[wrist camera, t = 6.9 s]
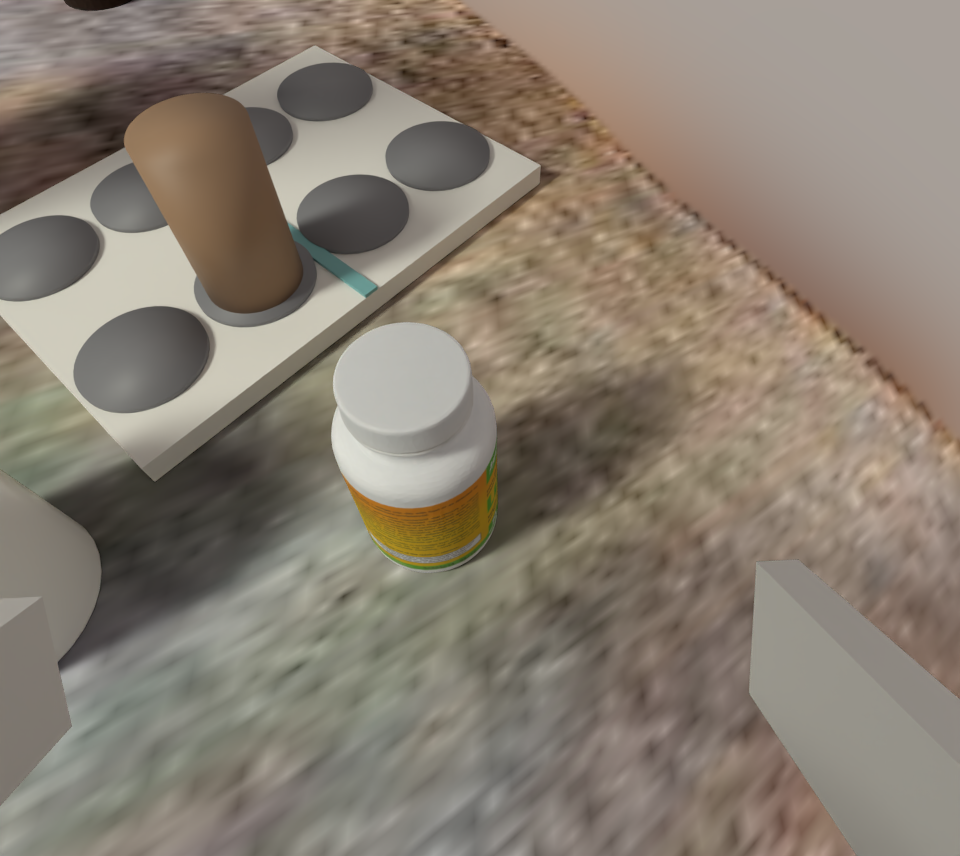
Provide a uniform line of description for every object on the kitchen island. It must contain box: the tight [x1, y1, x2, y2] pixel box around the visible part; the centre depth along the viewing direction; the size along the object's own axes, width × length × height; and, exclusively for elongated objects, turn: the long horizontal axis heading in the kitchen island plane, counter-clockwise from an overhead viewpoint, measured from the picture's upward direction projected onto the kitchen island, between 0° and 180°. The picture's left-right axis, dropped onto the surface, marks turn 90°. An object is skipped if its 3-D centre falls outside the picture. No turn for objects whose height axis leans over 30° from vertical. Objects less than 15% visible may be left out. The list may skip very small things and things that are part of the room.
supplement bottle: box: [331, 322, 498, 573], centre depth 22 cm, size 5×5×10 cm
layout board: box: [0, 45, 541, 482], centre depth 32 cm, size 26×20×10 cm
